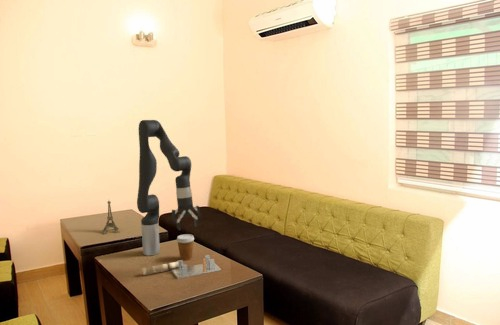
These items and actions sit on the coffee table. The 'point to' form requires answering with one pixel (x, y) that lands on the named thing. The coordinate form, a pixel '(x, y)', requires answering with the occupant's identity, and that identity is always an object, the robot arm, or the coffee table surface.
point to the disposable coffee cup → (185, 246)
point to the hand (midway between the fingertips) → (187, 228)
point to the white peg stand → (195, 268)
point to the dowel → (159, 268)
